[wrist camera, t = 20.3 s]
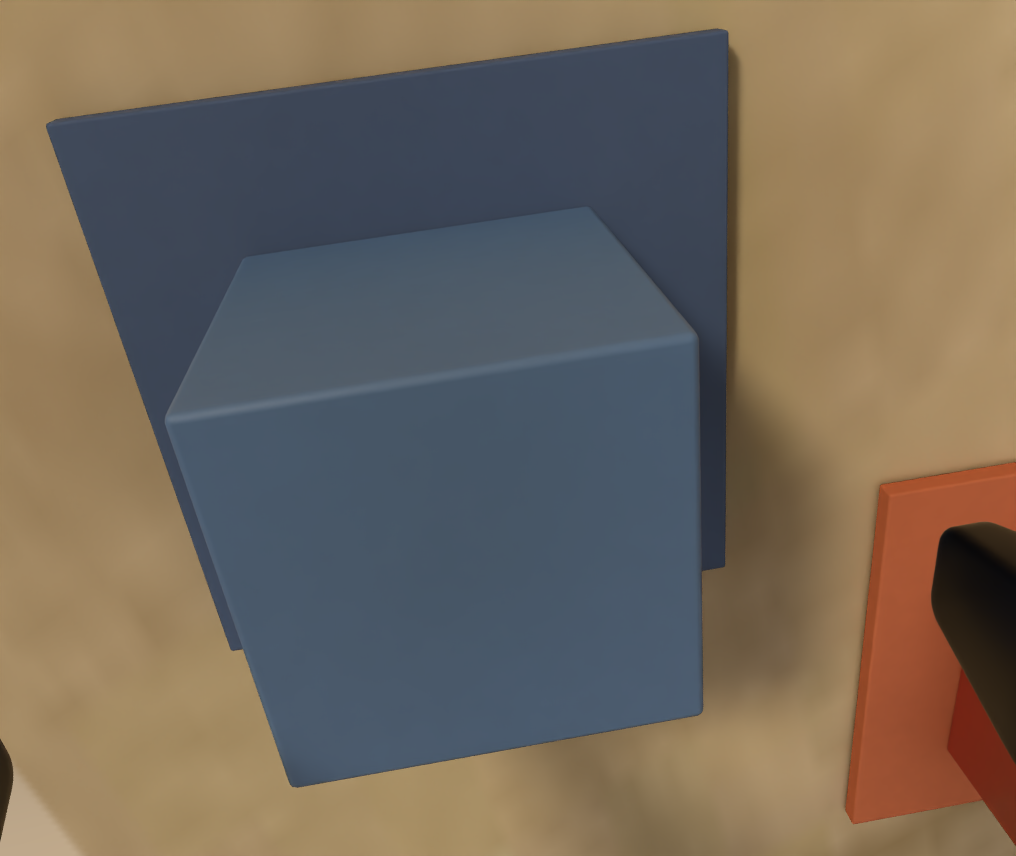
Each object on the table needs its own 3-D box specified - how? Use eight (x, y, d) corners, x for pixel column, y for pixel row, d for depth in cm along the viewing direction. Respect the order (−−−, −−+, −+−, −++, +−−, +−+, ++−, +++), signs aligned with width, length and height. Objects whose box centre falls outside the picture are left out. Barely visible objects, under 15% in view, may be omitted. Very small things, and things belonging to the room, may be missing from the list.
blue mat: (719, 554, 16) (726, 568, 16) (234, 637, 16) (230, 652, 15) (719, 27, 12) (729, 30, 12) (53, 119, 11) (43, 123, 11)
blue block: (611, 495, 15) (706, 718, 10) (319, 544, 15) (289, 792, 10) (591, 204, 12) (702, 333, 8) (241, 255, 12) (158, 419, 8)
